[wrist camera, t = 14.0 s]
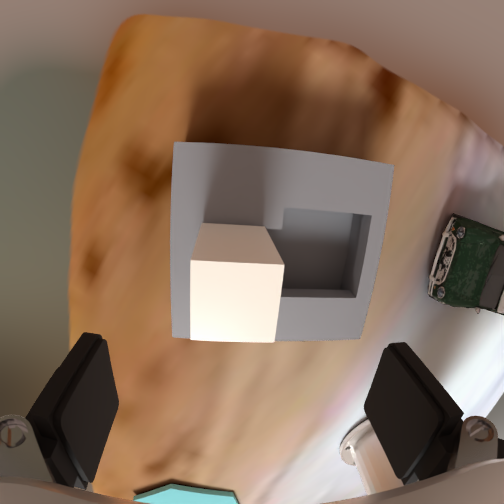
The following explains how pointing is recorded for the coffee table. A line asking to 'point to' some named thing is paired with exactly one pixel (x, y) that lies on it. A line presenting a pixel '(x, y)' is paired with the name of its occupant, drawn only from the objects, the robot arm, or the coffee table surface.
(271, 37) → the coffee table surface
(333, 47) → the coffee table surface
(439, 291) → the miniature car
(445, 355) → the coffee table surface
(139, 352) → the coffee table surface
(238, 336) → the keyhole peg
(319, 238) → the keyhole board
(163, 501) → the plaque
